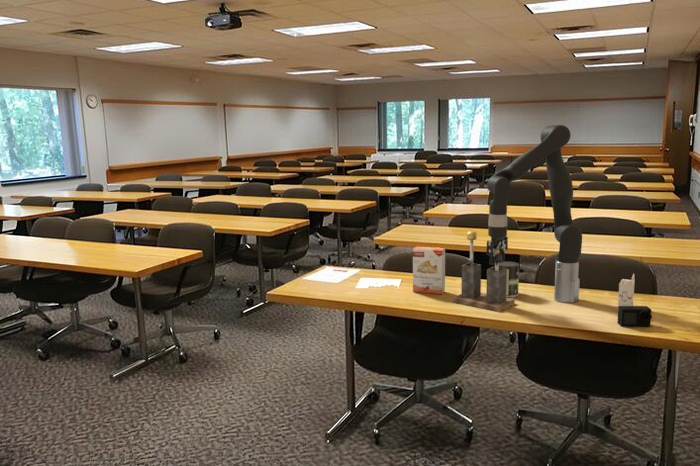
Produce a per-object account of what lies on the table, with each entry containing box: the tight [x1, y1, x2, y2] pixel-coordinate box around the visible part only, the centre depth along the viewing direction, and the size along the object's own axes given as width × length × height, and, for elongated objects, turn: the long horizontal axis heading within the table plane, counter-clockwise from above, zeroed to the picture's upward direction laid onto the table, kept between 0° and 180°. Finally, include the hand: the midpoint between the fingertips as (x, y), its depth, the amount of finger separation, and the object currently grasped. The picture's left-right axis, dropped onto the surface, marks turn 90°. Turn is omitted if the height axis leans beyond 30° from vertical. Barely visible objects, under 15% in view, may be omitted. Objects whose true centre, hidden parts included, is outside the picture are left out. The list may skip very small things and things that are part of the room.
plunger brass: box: [466, 230, 478, 267], centre depth 244 cm, size 4×4×18 cm
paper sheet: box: [354, 277, 403, 289], centre depth 273 cm, size 24×29×1 cm
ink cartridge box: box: [617, 273, 636, 307], centre depth 229 cm, size 9×5×15 cm, turn 148°
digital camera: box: [617, 305, 652, 328], centre depth 211 cm, size 10×5×7 cm, turn 85°
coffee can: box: [499, 260, 520, 298], centre depth 254 cm, size 10×10×14 cm
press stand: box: [452, 262, 515, 313], centre depth 242 cm, size 22×14×16 cm, turn 49°
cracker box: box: [412, 245, 446, 295], centre depth 260 cm, size 14×6×21 cm, turn 68°
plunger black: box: [494, 252, 503, 271], centre depth 238 cm, size 4×4×18 cm
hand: (496, 262), depth 237 cm, fingers open, 8 cm apart
